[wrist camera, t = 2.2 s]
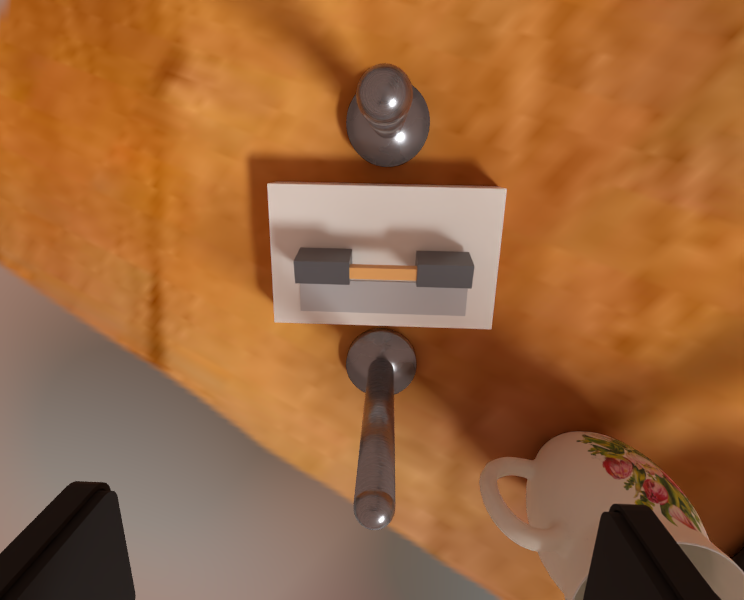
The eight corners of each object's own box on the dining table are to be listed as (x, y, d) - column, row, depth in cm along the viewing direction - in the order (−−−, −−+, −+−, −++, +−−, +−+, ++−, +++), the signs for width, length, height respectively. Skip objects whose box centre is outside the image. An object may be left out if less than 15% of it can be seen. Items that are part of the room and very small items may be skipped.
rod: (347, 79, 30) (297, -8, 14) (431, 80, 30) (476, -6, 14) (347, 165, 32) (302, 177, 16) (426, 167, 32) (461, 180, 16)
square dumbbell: (300, 247, 31) (293, 261, 29) (469, 252, 30) (474, 266, 28) (301, 268, 32) (295, 283, 29) (466, 273, 31) (471, 288, 29)
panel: (276, 181, 32) (266, 183, 30) (498, 186, 32) (507, 188, 29) (282, 310, 36) (274, 322, 33) (484, 317, 35) (491, 329, 32)
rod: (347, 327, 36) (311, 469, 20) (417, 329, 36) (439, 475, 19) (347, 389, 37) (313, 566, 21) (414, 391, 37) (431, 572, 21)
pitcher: (492, 375, 37) (547, 498, 23) (690, 441, 38) (848, 593, 25) (442, 478, 40) (467, 636, 27) (625, 536, 41) (734, 714, 28)
